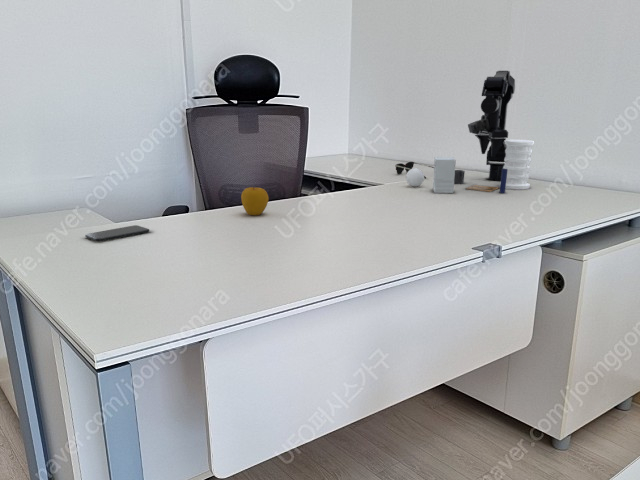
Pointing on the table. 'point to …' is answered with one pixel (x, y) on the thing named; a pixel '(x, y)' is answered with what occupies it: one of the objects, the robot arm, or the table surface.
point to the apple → (254, 200)
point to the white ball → (415, 177)
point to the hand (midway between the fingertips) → (488, 155)
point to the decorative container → (518, 163)
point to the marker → (503, 180)
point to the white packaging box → (444, 174)
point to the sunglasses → (406, 167)
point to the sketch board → (482, 188)
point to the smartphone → (117, 233)
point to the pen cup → (459, 177)
